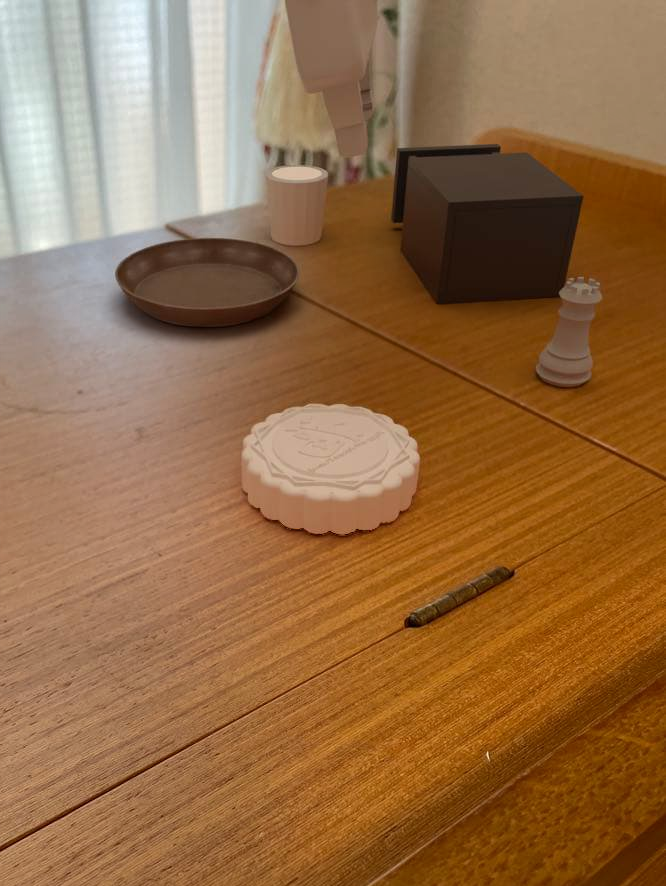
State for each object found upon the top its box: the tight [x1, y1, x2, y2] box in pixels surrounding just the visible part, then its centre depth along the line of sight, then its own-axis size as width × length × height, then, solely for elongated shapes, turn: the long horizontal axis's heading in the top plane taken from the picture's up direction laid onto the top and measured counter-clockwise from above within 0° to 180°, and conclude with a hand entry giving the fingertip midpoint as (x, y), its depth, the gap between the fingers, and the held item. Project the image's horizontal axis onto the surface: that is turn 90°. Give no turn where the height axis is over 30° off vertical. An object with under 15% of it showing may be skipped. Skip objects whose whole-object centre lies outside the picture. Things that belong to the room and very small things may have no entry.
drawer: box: [390, 143, 502, 224], centre depth 95 cm, size 18×11×8 cm, turn 7°
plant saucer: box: [114, 237, 300, 328], centre depth 84 cm, size 18×18×3 cm
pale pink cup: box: [265, 164, 329, 247], centre depth 97 cm, size 7×7×7 cm
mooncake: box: [240, 403, 421, 534], centre depth 59 cm, size 12×12×4 cm
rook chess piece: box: [535, 276, 604, 388], centre depth 70 cm, size 4×4×8 cm
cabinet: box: [399, 152, 585, 305], centre depth 87 cm, size 15×13×10 cm
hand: (359, 135), depth 58 cm, fingers open, 8 cm apart
